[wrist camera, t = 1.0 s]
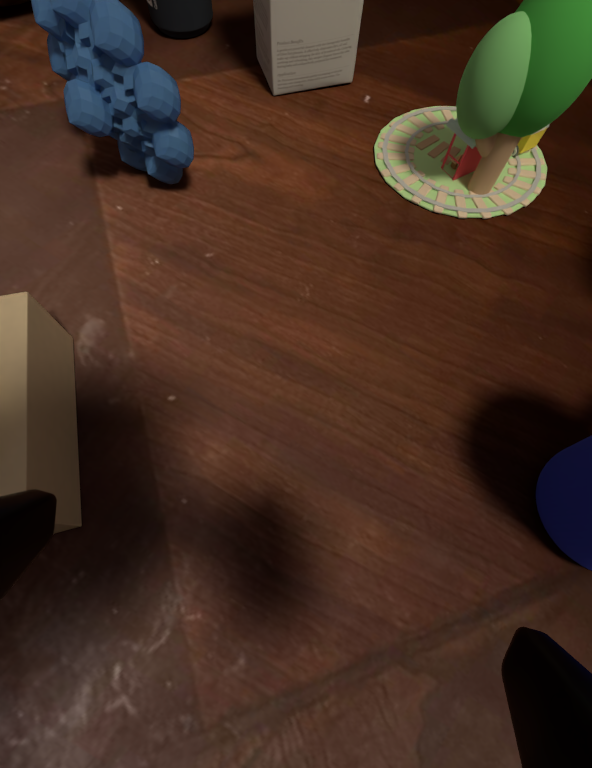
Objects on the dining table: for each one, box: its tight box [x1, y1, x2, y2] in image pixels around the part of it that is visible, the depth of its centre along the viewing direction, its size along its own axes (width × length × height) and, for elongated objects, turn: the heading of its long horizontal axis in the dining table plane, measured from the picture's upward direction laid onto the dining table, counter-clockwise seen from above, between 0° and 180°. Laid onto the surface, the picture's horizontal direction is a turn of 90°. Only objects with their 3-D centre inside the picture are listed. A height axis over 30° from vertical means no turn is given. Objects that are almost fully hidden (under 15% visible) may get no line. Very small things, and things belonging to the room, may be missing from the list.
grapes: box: [31, 0, 194, 184], centre depth 26 cm, size 12×7×12 cm, turn 54°
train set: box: [374, 0, 592, 219], centre depth 27 cm, size 15×14×14 cm
